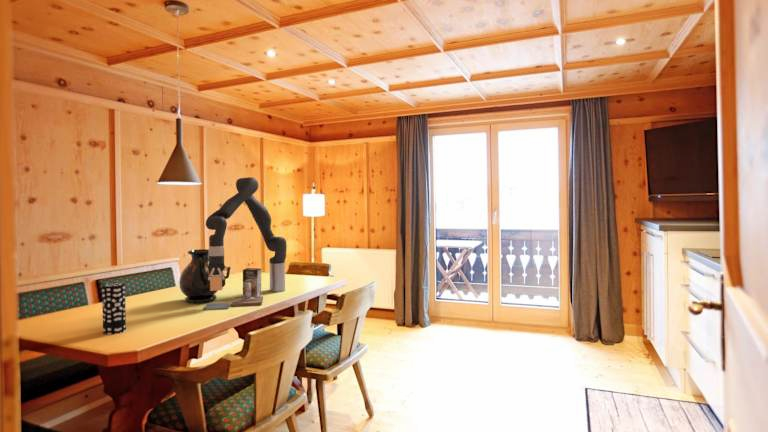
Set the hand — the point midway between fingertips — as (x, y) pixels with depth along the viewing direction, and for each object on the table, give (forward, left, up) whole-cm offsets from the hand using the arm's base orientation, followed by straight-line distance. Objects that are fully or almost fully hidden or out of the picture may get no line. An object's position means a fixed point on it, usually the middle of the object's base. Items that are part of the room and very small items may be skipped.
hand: (216, 286), depth 229 cm
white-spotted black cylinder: (+36, -36, -11) cm, 52 cm away
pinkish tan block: (0, 0, -1) cm, 1 cm away
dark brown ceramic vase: (-17, -11, -11) cm, 23 cm away
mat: (0, 0, -11) cm, 11 cm away
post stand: (-6, +15, -11) cm, 19 cm away
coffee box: (-22, +16, -11) cm, 29 cm away
